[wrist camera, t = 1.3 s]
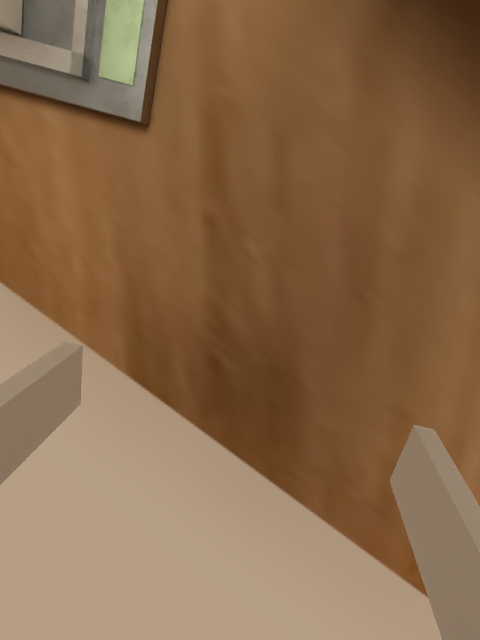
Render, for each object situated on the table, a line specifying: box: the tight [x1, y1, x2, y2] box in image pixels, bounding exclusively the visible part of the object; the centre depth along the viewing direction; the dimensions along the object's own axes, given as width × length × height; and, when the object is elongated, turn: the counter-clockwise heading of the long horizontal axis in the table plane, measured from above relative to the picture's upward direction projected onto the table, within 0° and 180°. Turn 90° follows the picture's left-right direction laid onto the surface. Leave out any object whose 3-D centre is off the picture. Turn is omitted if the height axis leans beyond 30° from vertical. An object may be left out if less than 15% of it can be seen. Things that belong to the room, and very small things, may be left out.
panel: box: [0, 0, 167, 126], centre depth 30 cm, size 12×26×3 cm, turn 76°
